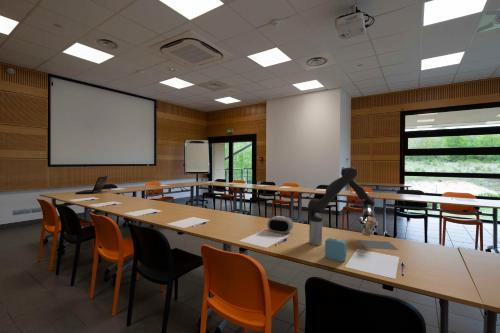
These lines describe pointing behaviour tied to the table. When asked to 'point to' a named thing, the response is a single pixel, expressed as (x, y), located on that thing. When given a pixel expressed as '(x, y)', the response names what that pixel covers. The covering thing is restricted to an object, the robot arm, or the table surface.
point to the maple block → (369, 226)
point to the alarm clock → (280, 224)
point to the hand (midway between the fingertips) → (368, 228)
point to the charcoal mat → (376, 244)
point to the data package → (335, 249)
